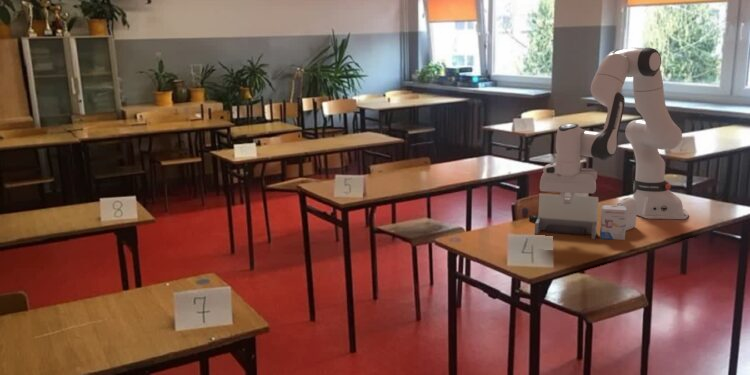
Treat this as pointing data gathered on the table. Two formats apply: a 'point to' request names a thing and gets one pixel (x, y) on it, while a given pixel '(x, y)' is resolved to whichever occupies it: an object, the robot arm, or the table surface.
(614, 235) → the ink box
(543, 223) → the cable channel
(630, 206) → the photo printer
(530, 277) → the table surface
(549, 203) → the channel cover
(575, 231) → the dark grey bar
